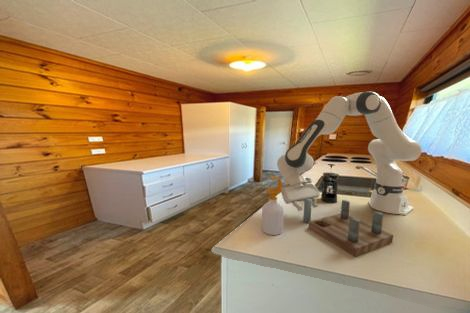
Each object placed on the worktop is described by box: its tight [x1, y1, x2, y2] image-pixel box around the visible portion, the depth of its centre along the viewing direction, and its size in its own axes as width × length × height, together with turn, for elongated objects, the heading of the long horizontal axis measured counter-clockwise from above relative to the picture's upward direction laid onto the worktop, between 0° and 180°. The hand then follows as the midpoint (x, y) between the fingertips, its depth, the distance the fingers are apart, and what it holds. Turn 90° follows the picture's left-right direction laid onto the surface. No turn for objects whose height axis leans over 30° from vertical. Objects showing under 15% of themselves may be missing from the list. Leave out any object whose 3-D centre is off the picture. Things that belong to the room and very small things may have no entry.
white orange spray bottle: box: [261, 174, 285, 236], centre depth 85 cm, size 9×9×25 cm
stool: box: [308, 199, 394, 257], centre depth 82 cm, size 22×22×11 cm
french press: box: [320, 163, 340, 204], centre depth 121 cm, size 12×9×23 cm
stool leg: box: [302, 198, 313, 224], centre depth 94 cm, size 3×3×11 cm
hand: (308, 208), depth 93 cm, fingers open, 8 cm apart
